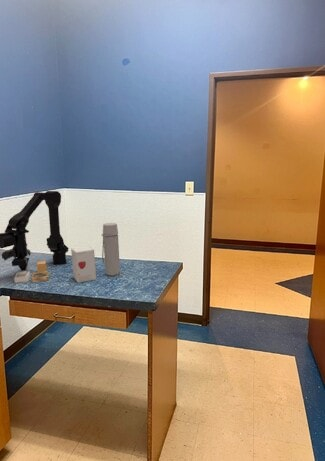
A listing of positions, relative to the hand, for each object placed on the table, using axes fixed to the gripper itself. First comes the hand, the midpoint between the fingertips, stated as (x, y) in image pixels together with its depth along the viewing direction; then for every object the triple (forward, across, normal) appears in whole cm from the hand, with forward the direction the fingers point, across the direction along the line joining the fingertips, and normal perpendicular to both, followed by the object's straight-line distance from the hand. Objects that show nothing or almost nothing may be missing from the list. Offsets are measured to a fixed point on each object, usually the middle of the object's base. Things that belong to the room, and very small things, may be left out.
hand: (23, 273), depth 164 cm
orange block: (+1, -4, +8) cm, 9 cm away
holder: (+1, +6, +8) cm, 11 cm away
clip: (+1, +4, 0) cm, 4 cm away
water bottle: (+2, +10, +42) cm, 43 cm away
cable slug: (+1, +4, 0) cm, 4 cm away
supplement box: (+2, +13, +29) cm, 32 cm away
